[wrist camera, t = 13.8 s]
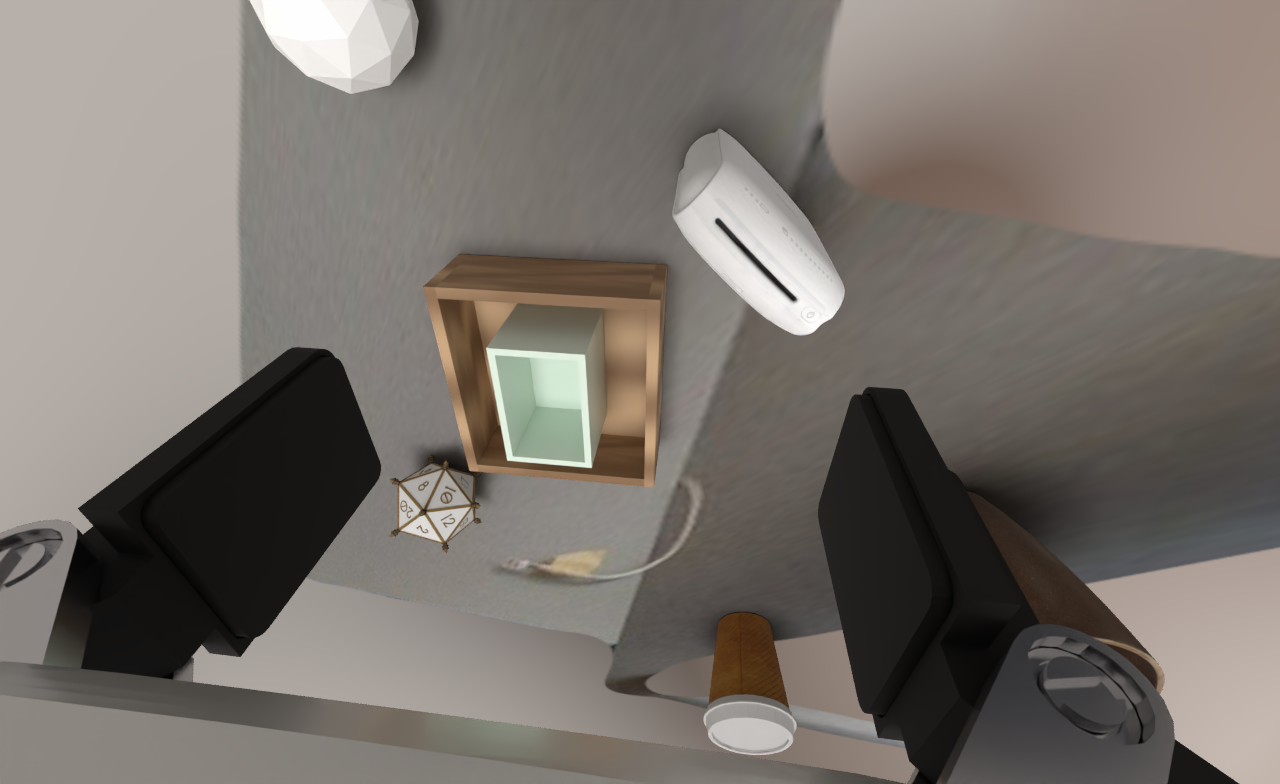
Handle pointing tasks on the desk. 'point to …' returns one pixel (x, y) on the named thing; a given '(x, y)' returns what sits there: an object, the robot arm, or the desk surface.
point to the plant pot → (1061, 591)
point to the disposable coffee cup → (748, 689)
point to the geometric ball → (343, 38)
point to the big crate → (493, 285)
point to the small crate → (550, 383)
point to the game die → (436, 502)
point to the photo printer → (755, 235)
